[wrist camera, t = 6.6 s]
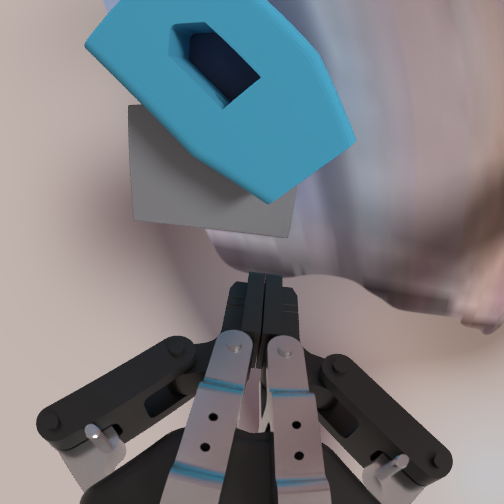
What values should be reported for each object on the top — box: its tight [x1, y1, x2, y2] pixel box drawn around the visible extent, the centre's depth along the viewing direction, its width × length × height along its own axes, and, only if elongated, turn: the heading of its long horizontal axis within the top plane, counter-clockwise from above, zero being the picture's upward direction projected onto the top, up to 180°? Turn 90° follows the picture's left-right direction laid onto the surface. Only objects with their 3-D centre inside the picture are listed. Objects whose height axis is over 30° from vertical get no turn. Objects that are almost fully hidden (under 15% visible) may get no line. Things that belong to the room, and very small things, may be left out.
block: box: [85, 0, 356, 204], centre depth 19 cm, size 12×5×20 cm
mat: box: [128, 105, 297, 238], centre depth 27 cm, size 16×12×1 cm
